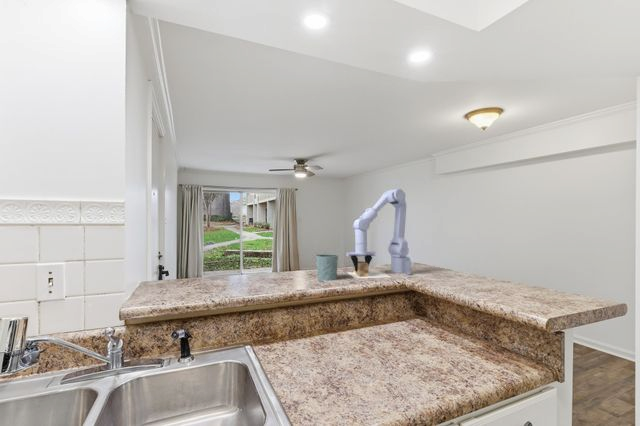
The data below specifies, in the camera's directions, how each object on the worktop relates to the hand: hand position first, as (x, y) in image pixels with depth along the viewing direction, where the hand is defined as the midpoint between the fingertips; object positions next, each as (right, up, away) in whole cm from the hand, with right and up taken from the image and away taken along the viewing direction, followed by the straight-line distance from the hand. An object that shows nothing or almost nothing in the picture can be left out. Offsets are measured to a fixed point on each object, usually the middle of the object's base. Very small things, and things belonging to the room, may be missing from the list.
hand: (361, 271), depth 146 cm
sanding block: (0, -2, +1) cm, 2 cm away
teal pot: (-17, -3, -9) cm, 20 cm away
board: (+4, -3, 0) cm, 5 cm away
